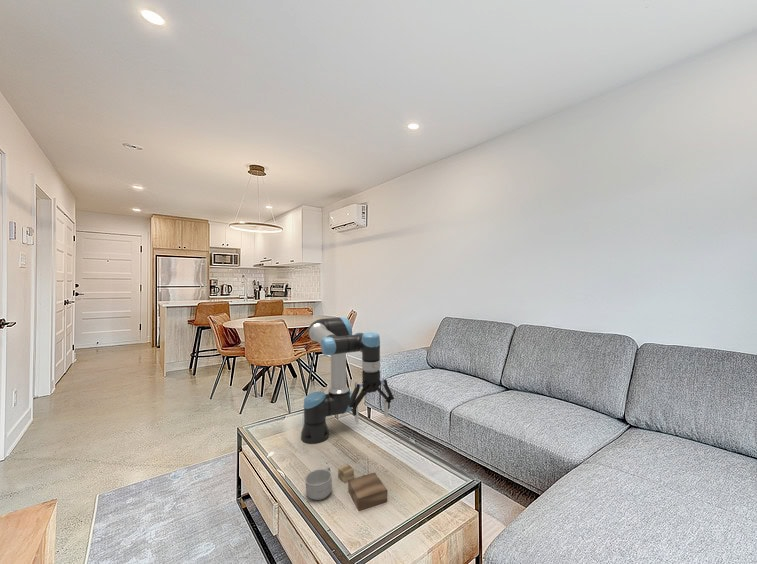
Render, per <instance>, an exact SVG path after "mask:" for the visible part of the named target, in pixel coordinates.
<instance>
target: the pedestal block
mask: <svg viewBox="0 0 757 564" xmlns="http://www.w3.org/2000/svg"><path fill="white" fill-rule="evenodd" d="M347 487H348V488H347V490H348V492H349V494H350V496H351V498H352V500H353V502H354V504H355V506H356V508H357V510H358V512H359V511H362V510H365V509H368V508H371V507H374V506H377V505H380V504H383V503H386V502H387V500H388V489H387V488H386V486H385V485H384V483H383V482H382V480H381V479H380V477H379V476H378V474H377V473H376V472H372V473H368V474H365V475H361V476H357V477H354V478H353V479H350V480H348V483H347ZM371 509H372V508H371ZM368 510H369V509H368ZM365 511H366V510H365ZM362 512H363V511H362ZM359 513H360V512H359Z"/></svg>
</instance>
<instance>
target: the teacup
mask: <svg viewBox="0 0 757 564" xmlns="http://www.w3.org/2000/svg"><path fill="white" fill-rule="evenodd" d="M332 474H333V473H332V472H331V467H330V466H326V467H325V468H318V469H314V470H312V471H309V472H308V473H307V474H306V475H305V477H304V483H305V492H306V495H307V496H308V498H310V499H311V500H314V501H321V500H324V499H325V498H327V496H329V495H330V494H331V492H332V489H333V480H332V479H333V475H332Z"/></svg>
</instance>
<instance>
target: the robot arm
mask: <svg viewBox="0 0 757 564" xmlns="http://www.w3.org/2000/svg"><path fill="white" fill-rule="evenodd" d="M307 335H308V337H309V338H310V340H312V341H313V342H317V343H318V344H320V350H321V353H322V355H324V356H330V387H329V388H328V392H327V393H325V392H324V391H314V392H311V393H309V394H307V395H306V396H305V397H304V398H303V399H304V400H303V427H302V428H301V432H300V440H301V441H302V442H303V443H306V444H310V445H312V444H314V445H315V444H321V443H322V442H325V441H326V440H328V439H329V437H330V430H329V427H328V423H327V421H326V419H327V418H326V417H331V416H337V415H344V414H347V413H349V412H350V411H352V415H353V417H354V422H355V424H357V425H358V424H359V407H358V406H359V404H360V403H362V400H363V399H364V397H365V396H366V395H367V394H371V393H376V392H378V393H379V395H381V396H382V398H384V400H383V416H384V417H385V418H389V410H390V409H391V402H392V400H394V399H395V397H394V395H393V393H392V391H391V389H390V386H389V385H388V380H387V379H386V378H382V379H381V370H380V369H381V338H380V334H379V333H378V332H365V333H363V332H355V333H354V334H353V328H352V324H351V322H350V320H349V319H348V318H347V317H331V318H330V317H328V318H327V317H326V318H320V319H317V320H314V321H313V322H312V323H311V324H310V325H309V327H308V329H307ZM357 352H361V355H362V356H361V357H362V358H361V362H362V363H361V364H362V365H361V368H362V371H361V372H362V373H361V377H362V379H361V380H362V382H360V383H358V382H355V383H354V389H353V391H351V390H350V388H349V387H348V386H347V354H348V353H349V354H350V353H357ZM381 385H382V386H383V388H384V390H385V391H386V393H384V391H383V390H382V389H381V388H380V386H381ZM360 389H361V390H360ZM386 394H387V395H388V396H387V395H386Z"/></svg>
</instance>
